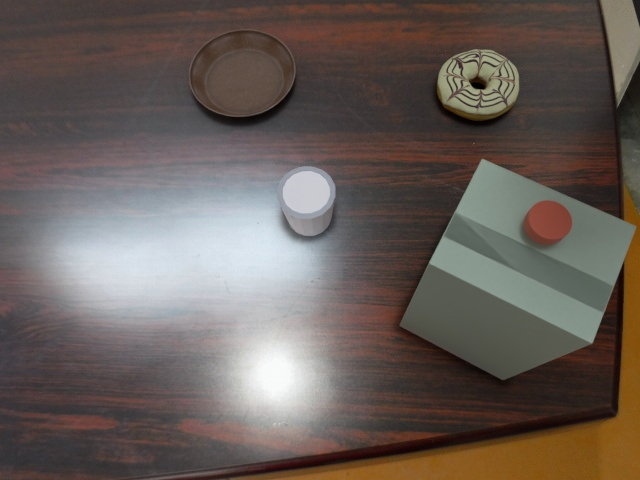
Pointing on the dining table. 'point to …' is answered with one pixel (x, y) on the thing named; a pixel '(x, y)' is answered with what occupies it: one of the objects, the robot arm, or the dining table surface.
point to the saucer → (242, 73)
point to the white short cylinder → (307, 199)
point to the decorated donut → (482, 69)
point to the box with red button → (516, 277)
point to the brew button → (547, 222)
